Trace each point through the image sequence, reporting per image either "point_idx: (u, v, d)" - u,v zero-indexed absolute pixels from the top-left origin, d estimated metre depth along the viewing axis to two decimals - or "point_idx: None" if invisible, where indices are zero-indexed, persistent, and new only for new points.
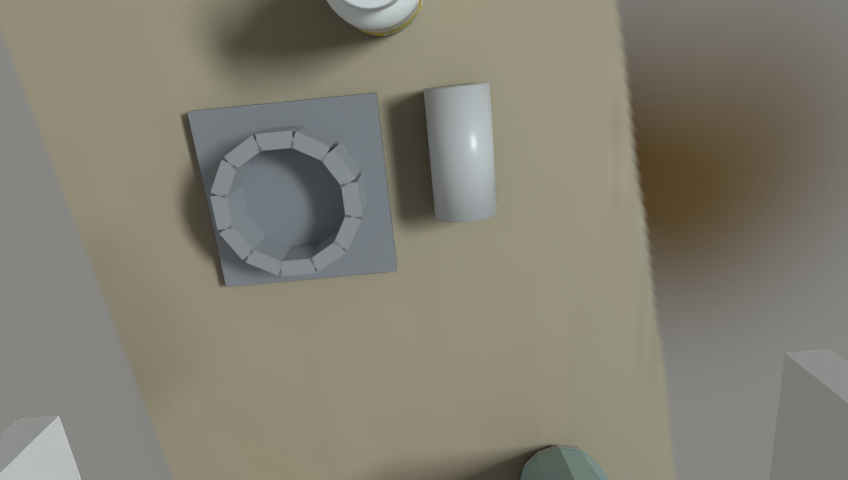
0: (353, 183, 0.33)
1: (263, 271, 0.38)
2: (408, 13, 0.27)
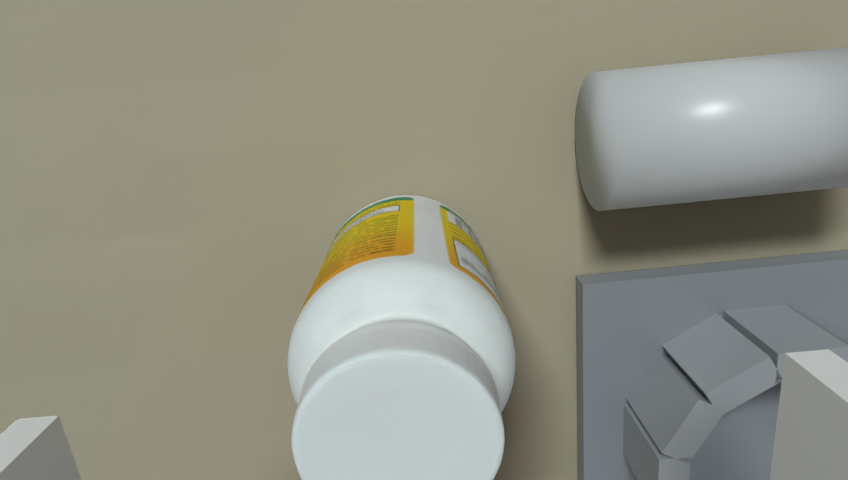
0: (779, 360, 0.16)
1: None
2: (488, 299, 0.12)
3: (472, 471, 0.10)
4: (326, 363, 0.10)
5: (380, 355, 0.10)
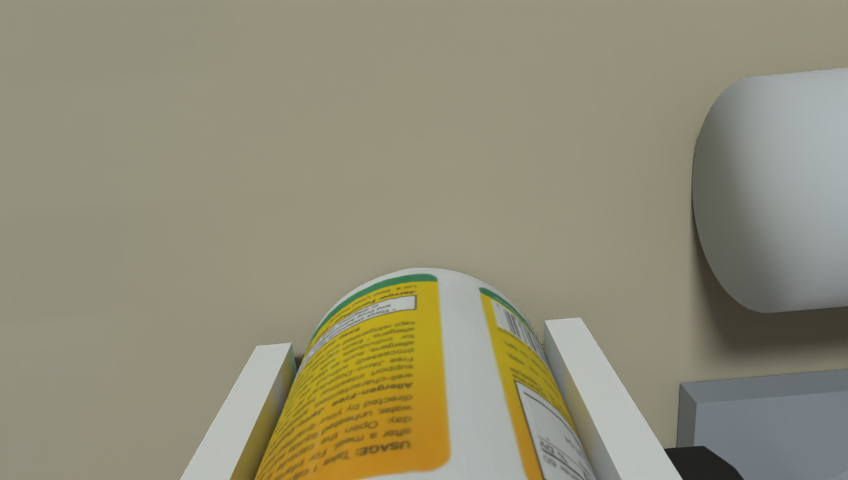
0: None
1: None
2: None
3: None
4: None
5: None
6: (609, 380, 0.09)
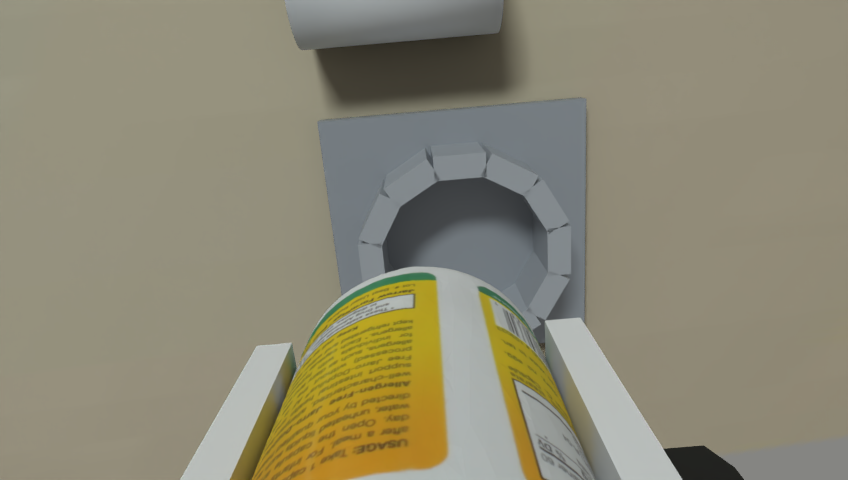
0: (434, 162, 0.22)
1: (567, 290, 0.27)
2: None
3: None
4: None
5: None
6: (609, 380, 0.09)
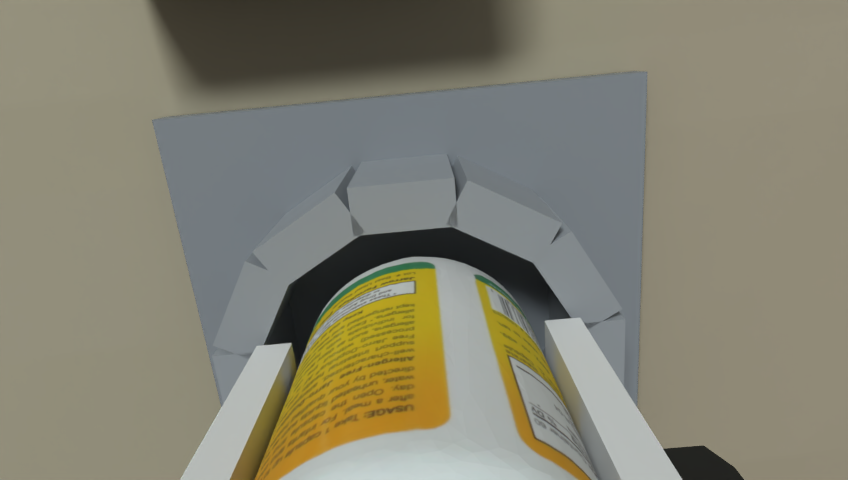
0: (351, 199, 0.11)
1: None
2: None
3: None
4: None
5: None
6: (609, 380, 0.09)
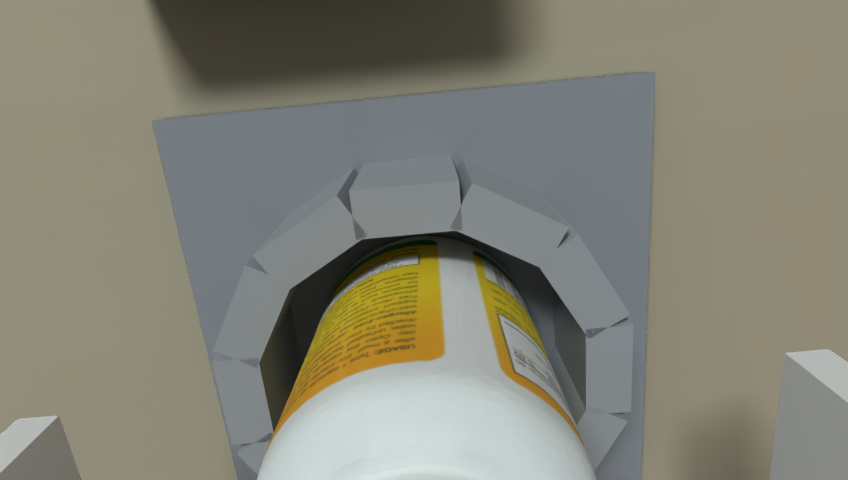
0: (353, 202, 0.11)
1: None
2: (563, 431, 0.08)
3: None
4: None
5: None
6: None
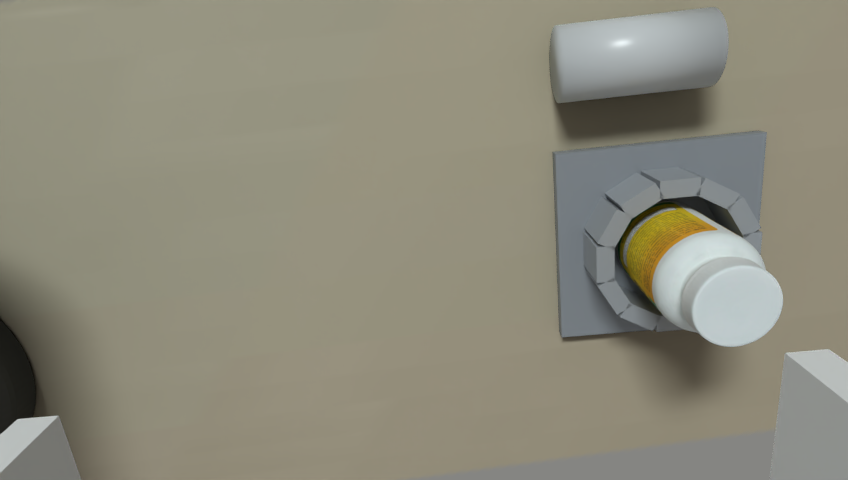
0: (661, 185, 0.30)
1: None
2: (756, 250, 0.26)
3: (767, 319, 0.25)
4: (708, 272, 0.24)
5: (737, 267, 0.24)
6: None
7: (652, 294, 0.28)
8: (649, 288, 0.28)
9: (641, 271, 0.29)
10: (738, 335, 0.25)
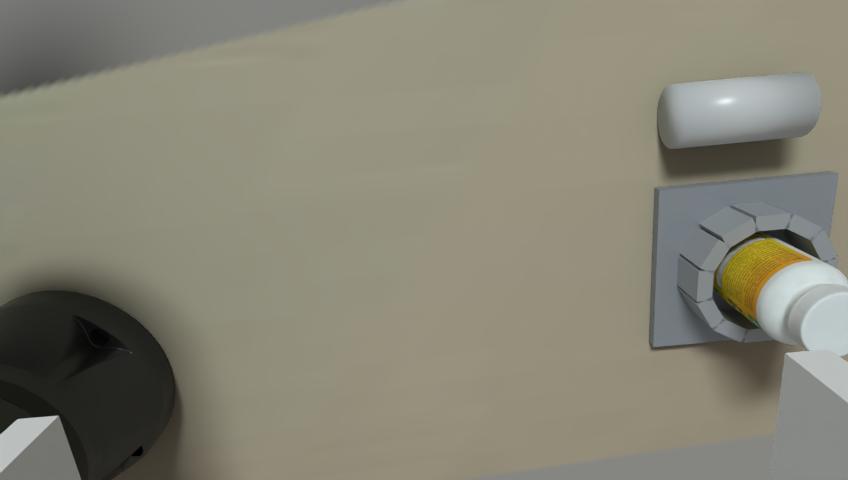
0: (756, 220, 0.35)
1: None
2: (845, 277, 0.32)
3: None
4: (814, 297, 0.30)
5: (840, 293, 0.29)
6: None
7: (755, 313, 0.33)
8: (752, 308, 0.33)
9: (742, 293, 0.34)
10: (837, 348, 0.30)
